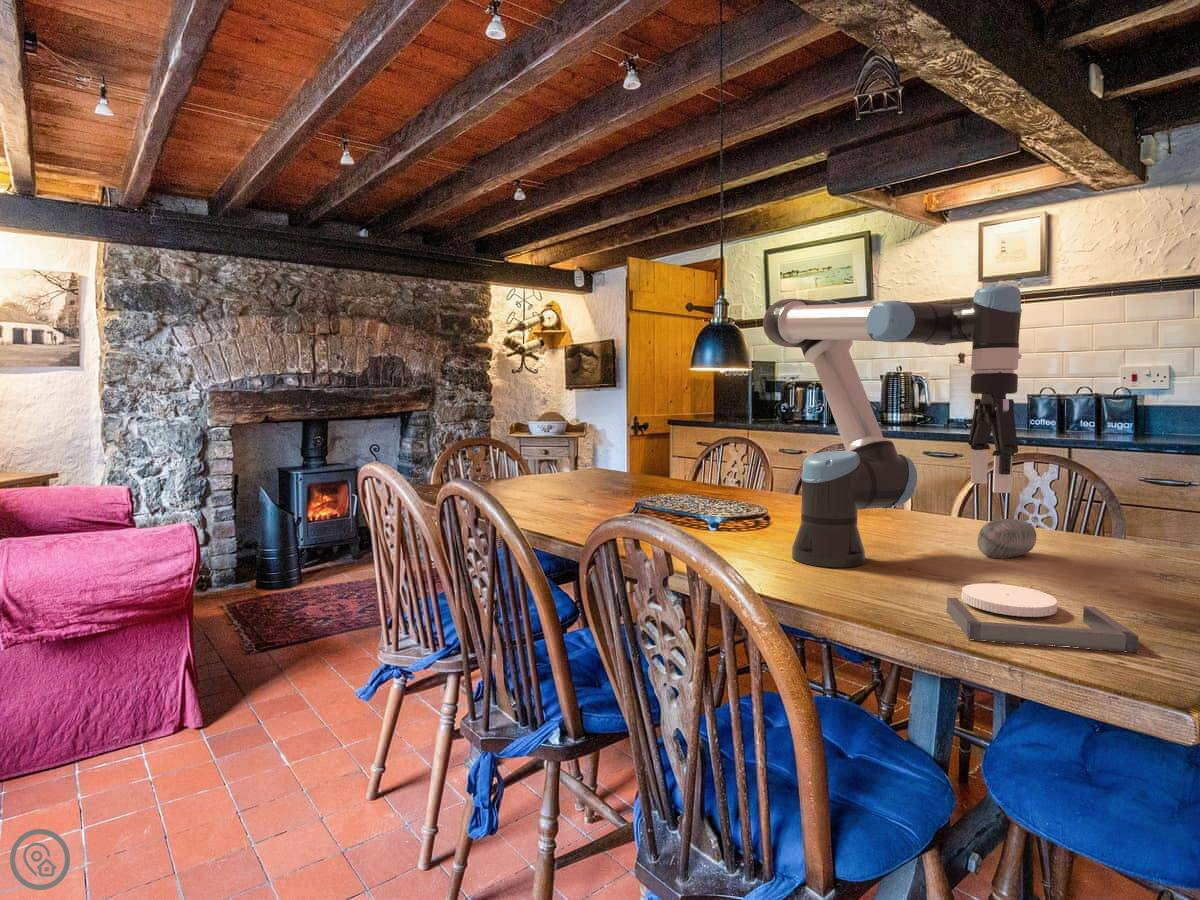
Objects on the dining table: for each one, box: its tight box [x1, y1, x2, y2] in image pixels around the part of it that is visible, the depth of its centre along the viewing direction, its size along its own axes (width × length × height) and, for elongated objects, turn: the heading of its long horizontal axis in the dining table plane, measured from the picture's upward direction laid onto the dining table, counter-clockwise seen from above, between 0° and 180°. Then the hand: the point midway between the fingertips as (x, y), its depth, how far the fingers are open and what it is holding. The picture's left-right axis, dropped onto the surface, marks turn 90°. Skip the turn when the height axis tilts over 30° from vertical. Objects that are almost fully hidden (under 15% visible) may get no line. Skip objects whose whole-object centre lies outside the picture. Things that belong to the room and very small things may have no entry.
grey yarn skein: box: [976, 518, 1038, 559], centre depth 155 cm, size 14×10×10 cm
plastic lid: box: [961, 583, 1058, 618], centre depth 118 cm, size 14×14×2 cm
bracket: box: [946, 597, 1139, 653], centre depth 106 cm, size 22×14×2 cm, turn 76°
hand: (989, 487), depth 129 cm, fingers open, 12 cm apart
